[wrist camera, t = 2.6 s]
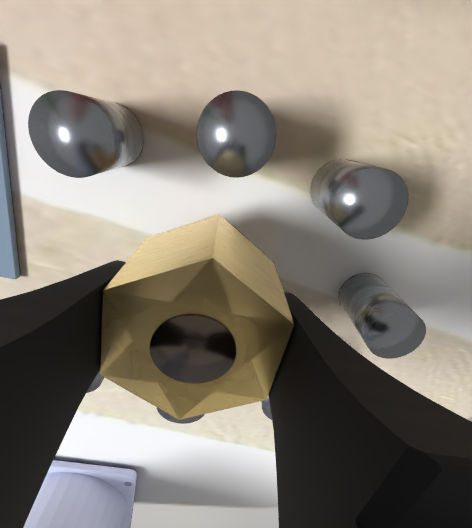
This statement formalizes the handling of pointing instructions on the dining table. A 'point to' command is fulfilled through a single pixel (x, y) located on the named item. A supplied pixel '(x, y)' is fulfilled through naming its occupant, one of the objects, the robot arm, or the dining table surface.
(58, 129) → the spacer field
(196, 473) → the dining table surface
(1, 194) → the mat
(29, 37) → the dining table surface
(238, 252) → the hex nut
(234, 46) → the dining table surface
